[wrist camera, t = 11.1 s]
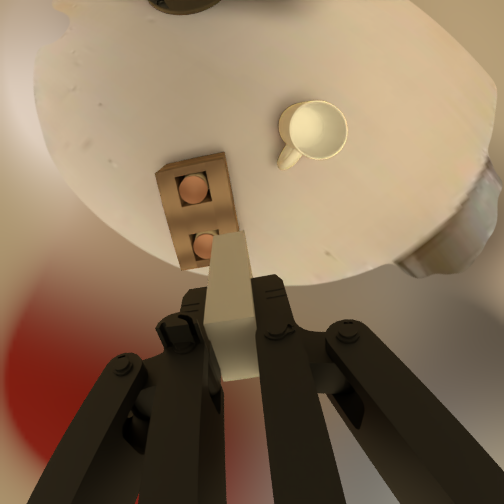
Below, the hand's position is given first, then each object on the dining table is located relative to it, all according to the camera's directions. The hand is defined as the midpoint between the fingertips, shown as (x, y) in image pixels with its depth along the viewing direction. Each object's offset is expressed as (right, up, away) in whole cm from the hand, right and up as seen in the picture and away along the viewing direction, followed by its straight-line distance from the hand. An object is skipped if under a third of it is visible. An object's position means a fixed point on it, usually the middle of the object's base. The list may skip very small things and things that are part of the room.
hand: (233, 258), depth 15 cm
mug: (+8, +20, +32) cm, 38 cm away
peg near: (-8, +12, +33) cm, 36 cm away
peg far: (-6, +4, +37) cm, 38 cm away
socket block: (-7, +9, +36) cm, 38 cm away
